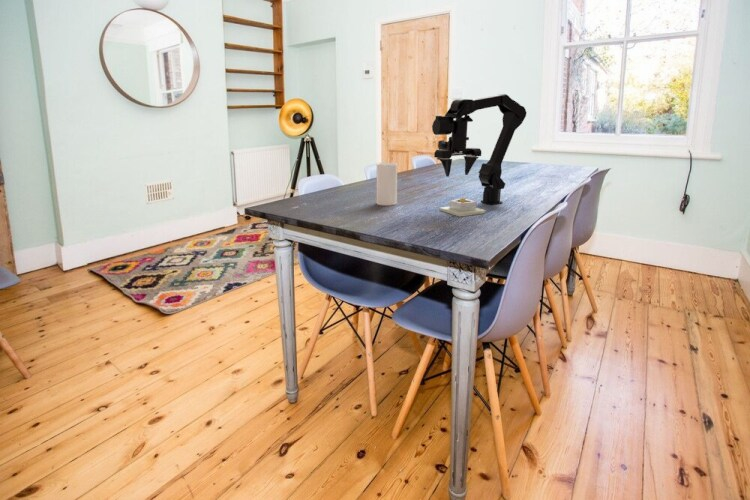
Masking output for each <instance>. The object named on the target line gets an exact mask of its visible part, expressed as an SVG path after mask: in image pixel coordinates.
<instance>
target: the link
mask: <svg viewBox="0 0 750 500" xmlns="http://www.w3.org/2000/svg"><path fill="white" fill-rule="evenodd" d="M448 207H449V208H450V209H454V210H457V211H460V212H463V211H470V210H476V208H477V201H474V200H472V199H467V198H466V202H464V203H461V202H460V198H458V199H450V200H449V205H448Z"/></svg>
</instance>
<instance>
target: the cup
mask: <svg viewBox="0 0 750 500" xmlns="http://www.w3.org/2000/svg"><path fill="white" fill-rule="evenodd" d="M376 204H377V205H379V206H395V205H397V204H398V163H396V162H378V163H376Z"/></svg>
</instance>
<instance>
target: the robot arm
mask: <svg viewBox="0 0 750 500" xmlns="http://www.w3.org/2000/svg"><path fill="white" fill-rule="evenodd" d="M493 107H498V110H499V111H500V113H501V114H502V129H500V130H501V131H500V133H499V135H498V138H497V140H496V143H495V145H494V149H493V150H492V153H491V155H490V158H489V160H488V161H487V163H484V162H483V163H482V164H481V165H480V166H481V167H480V169H479V171H478V179H479V182H480V183H481V187H483V193H482V200H480V202H481V203H484V204H488V205H497V204H502V203H503V200H501V194H502V193H501V191H502V190H503V189H505V186H506V182H504V180H503V178H501V176H502V173H503V172H502V163H503V161H504V159H505V156H506V153H507V151H508V148H509V147H510V144H511V141H512V139H513V136H514V133H515V132H516V130H517V129H519V127H520V126H521V125H522V124H523V122H524V120H525V118H526V117H527V112H528V111H527V110H526V107H525V106H522V105H521V104H520V103H519V102H517V101H515V100H514V99H513V98H511V97H510V96H509V95H508V94H505V93H503V94H502V93H500V94H497V95H492V96H487V97H481V98H476V99H467V98H466V99H463V98H462V99H461V98H460V99H454V100H453V101H452V102H451V104H450V107H449V109H448V110H447V112H446V113H445V115H443V116H442V115H435V119H434V121H433V122H432V124H431V128H432V133H433V134H434V135H435V136H442V135H444V136H445V135H450V136H449V138H448V141H445V140H443V139H442V140H438V143H437V149H436V150H435V151H434V152H433V155H434V158H435V159H437V160H439V161H440V162H441V164H442V166H443V170H444V173H445V176H446V177H448V178H449V176H450V174H451V168H452V163H453V159H452V157H453V156H454V157H457V156H463V158H464V163H465V164H464V175H465V176H468V175H469V173H470V172H471V169H472V167H473V166H474V164H475V163H476V161H477V159H479V157H482V149H481V148H479V147H467V141H469V140H470V137H469V136H468V123H470V122H471V123H472V122H473V121H474V120H473V118H472V117H470V115H471V114H473V113H475V112H476V111H479V110H484V109H489V108H493Z"/></svg>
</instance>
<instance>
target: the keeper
mask: <svg viewBox="0 0 750 500" xmlns="http://www.w3.org/2000/svg"><path fill="white" fill-rule="evenodd" d="M459 199H460V202H461V203H464V202H466V199H467V198H465V197H461V198H459ZM439 211H440V212H444V213H448V214H450V215H454V216H457V217H460V218H461V217H468V216H473V215H474V216H475V215H481V214H485V213H486V209H482V208H479V207H476V210H470V211H463V212H460V211H457V210H454V209H450V208H449V206H442V207H439Z"/></svg>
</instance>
